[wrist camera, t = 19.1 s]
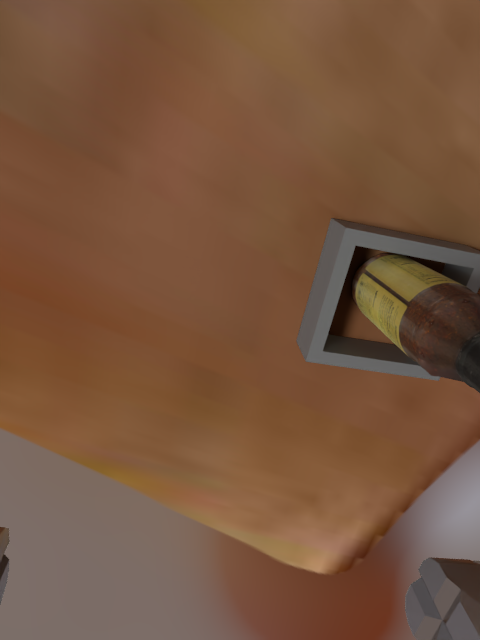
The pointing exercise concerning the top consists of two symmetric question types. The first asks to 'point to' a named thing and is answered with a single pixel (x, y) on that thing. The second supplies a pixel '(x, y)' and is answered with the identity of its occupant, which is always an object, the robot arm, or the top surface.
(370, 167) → the top surface
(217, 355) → the top surface
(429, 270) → the sauce bottle
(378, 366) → the bottle collar
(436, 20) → the top surface
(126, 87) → the top surface
